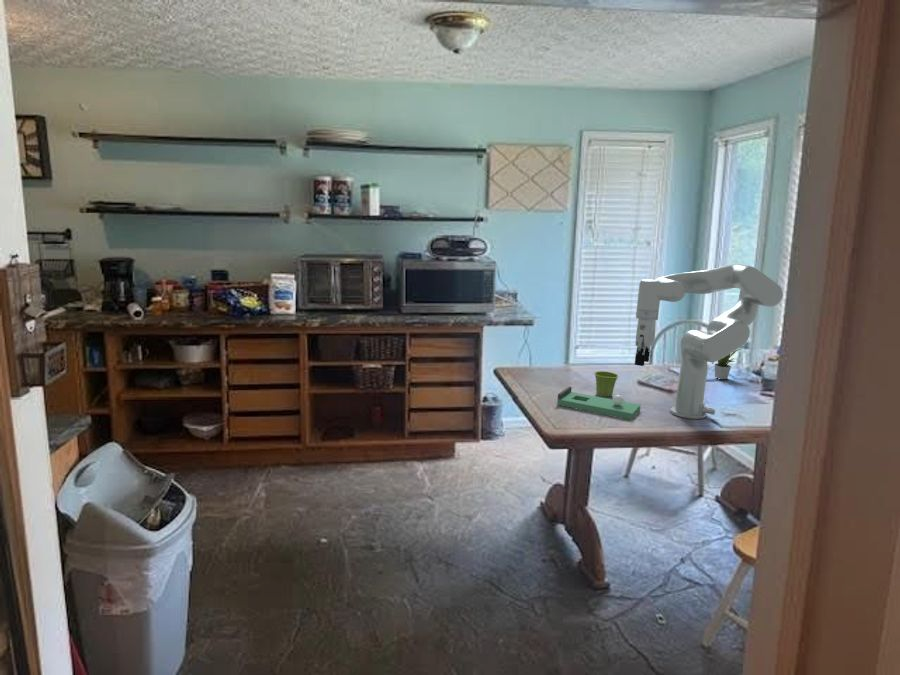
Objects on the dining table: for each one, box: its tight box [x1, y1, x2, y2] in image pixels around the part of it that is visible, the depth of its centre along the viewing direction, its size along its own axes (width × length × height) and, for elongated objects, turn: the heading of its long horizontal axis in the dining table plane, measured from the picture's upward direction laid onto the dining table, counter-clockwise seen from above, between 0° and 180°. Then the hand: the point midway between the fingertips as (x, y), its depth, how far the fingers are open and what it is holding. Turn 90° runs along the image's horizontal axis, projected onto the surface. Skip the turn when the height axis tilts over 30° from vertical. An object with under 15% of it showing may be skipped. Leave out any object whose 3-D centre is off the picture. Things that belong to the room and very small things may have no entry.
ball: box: [612, 394, 625, 406], centre depth 241 cm, size 4×4×4 cm
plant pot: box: [594, 370, 619, 398], centre depth 262 cm, size 9×9×9 cm
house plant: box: [713, 348, 741, 380], centre depth 298 cm, size 14×14×16 cm
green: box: [556, 386, 641, 421], centre depth 244 cm, size 28×13×4 cm, turn 61°
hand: (641, 362), depth 234 cm, fingers open, 6 cm apart
